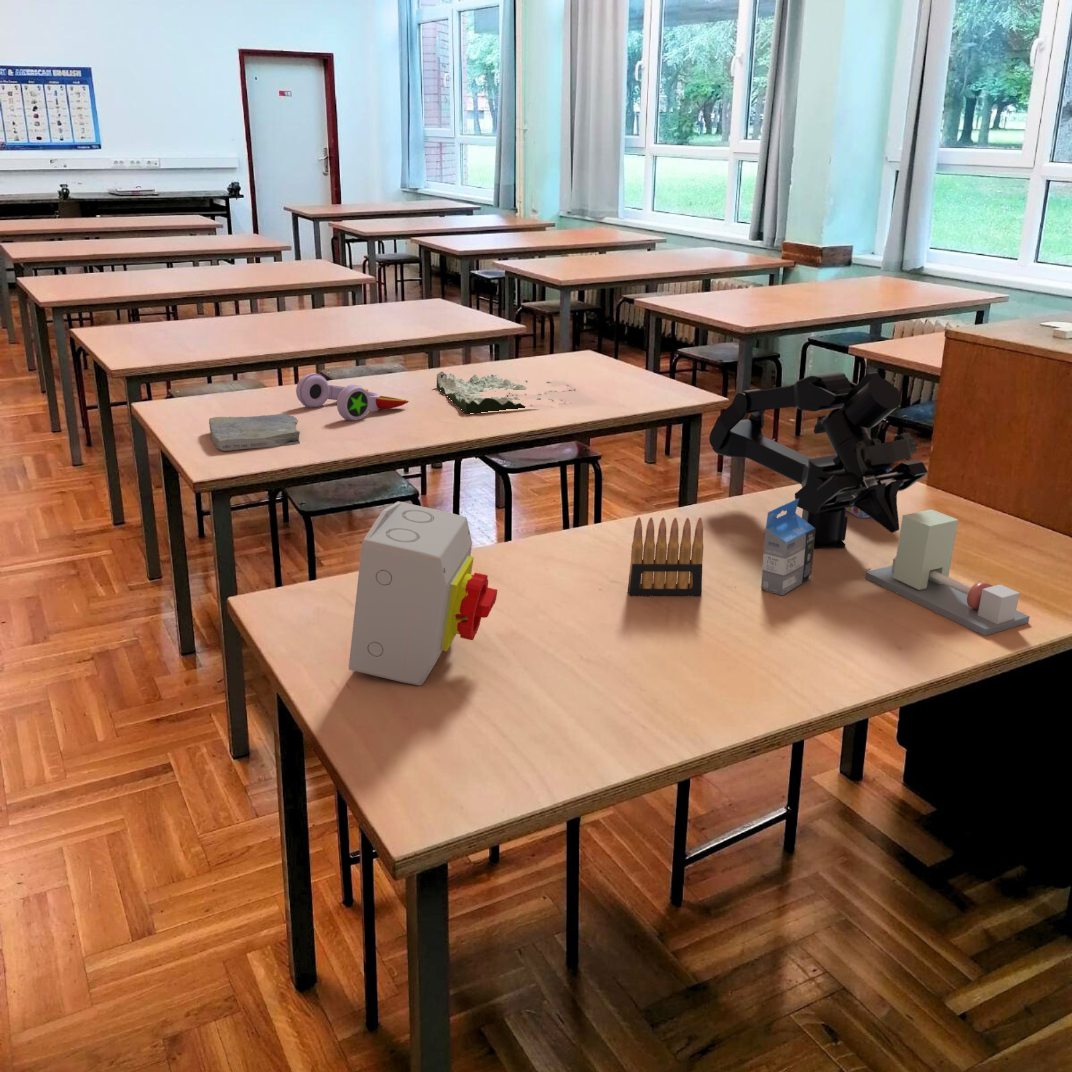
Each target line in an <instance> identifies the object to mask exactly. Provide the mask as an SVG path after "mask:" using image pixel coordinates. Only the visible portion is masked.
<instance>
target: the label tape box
mask: <svg viewBox="0 0 1072 1072" xmlns="http://www.w3.org/2000/svg"><path fill="white" fill-rule="evenodd" d="M798 501H799V499H796V500H795V499H794V500H791V501H789V502H787V503H785V504H782V505H780V506H778V507H776V508H774V509H771V510H770V511H768V512H767V514H766V515H767V517H766V523H765V528H764V529H765V532H764V542H763V543H764V544H763V557H762V570H761V582H760V583H761V585H760V588H761V590H764V591H767V592H769V593H772V594H776V595H781V596H784V595H785V594H788V593H789V592H791V590H794V589H795V588H797V587H798V586H800V585H802V584H803V583H805V582H807V581H809V580H810V579H811V578H812V573H813V571H812V570H813V559H814V549H815V548H814V540H815V528H814V527H813V526H812V525H810V524H809V523H808V522H806V521H805V520H804V519H803V518H802V516H800V515H798V514H797V508H798V507H797V504H798ZM782 512H786V513H785V514H782ZM779 514H782V515H781V516H778V515H779Z"/></svg>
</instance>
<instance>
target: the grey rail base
mask: <svg viewBox="0 0 1072 1072" xmlns="http://www.w3.org/2000/svg"><path fill="white" fill-rule="evenodd" d="M895 561H896V556H895V557H894V558H893V559H892V563H891V565H888V566H884V567H880V568H876V569H872V570H867V571H865V574H864V578H865V579H867V580H869V581H871V582H873V583H875V584H877V585H879V586H881V587H883V588H886V589H887V590H889V589H890V590H889V591H891V592H893V591H894V593H896V594H897V593H898V595H899V596H902V597H904V598H906V599H908V600H910V601H912V602H913V603H916V604H918V605H921V606H922V607H925V608H927V609H928V610H931V611H933V612H935V613H936V614H939V615H941V616H943V617H945V618H946V619H948V620H951V621H953V622H954V623H957V624H959V625H961V626H964V627H965V628H967V629H970V630H971V631H974V632H976V633H978V634H980V635H982V636H984V637H986V636H989V635H992V634H996V633H999V632H1003V631H1006V630H1010V629H1012V628H1016V627H1018V626H1023V625H1026V624H1029V622H1030V618H1031V617H1030V616H1029V615H1027V614H1025V613H1023V612H1020V611H1018V610H1017V609H1018V603H1019V598H1020V596H1021V595H1020V594H1021V592H1019V591H1016V590H1015V589H1012V588H1009V587H1007V586H1005V585H1003V584H996V585H991V584H990V583H988V582H985V581H978V582H976V583H974V584H973V585H972V586H969V585H967V584H964V583H962V582H961V581H959V580H956V579H953V578H951V577H949V576H948V577H947V576H945V575H943V574H940V573H938V572H936V571H934V570H930V571H929V578H932V579H934V580H936V581H938V582H940V583H943V584H938V583H936V582H934V581H931V580H929V579H928V583H927V588H924V589H920V590H918V589H916V588H914V587H912V586H910V585H908V584H905V583H903V582H901V581H899V580H897V579H895V578H893V574H894V568H895Z"/></svg>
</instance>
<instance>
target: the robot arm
mask: <svg viewBox="0 0 1072 1072" xmlns="http://www.w3.org/2000/svg"><path fill="white" fill-rule="evenodd" d="M901 402H902V396H901V394H900V391H899V389H898V388H897V387H895V386H894V384H892V383H891V382H890V381H889V380H887V379H885V378H882V377H881V376H880V374H879V372H878V371H874V372H868V373H866V374H865V375H864V376H863V377H862V378H861V381H860V380H859V382H858V383H855V382H853V381H850V380H849V378H848V377H847V376H846V374H845V373H843V372H838V371H837V372H830V373H822V374H814V375H812V374H811V375H809V376H806V377H804V378H802V379H799V380H796V382H795V383H792V384H790V385H786V386H779V387H778V386H777V387H771V388H764V389H760V388H757V389H756V388H755V389H748V390H742V391H739V392H738V393H736V395H735V396H734V398H733V400H732V402H731V404H730V405H729V406H728V407H727V408H726V409H724V411H723V412H722V413H721V414H720V415H719V416H718V417H717V419H716V421H715V423H714V425H713V427H712V428H711V431H710V433H709V436H708V438H709V444H710V446H711V447H712V451H713V452H714V453H716V454H717V455H718V456H719V455H720V456H725V457H729V458H741V459H742V458H743V459H748V460H750V461H752V462H754V463H757V464H759V465H760V466H763V467H765V468H767V469H769V470H771V471H772V472H775V473H777V474H779V475H781V476H783V477H785V478H787V479H789V480H792V481H794V482H795V483H797V484H800V485H801V489H799V490H798V491H796V492H795V493H794V500H796V499H799V501H798V504H797V508H800V509H801V510H802V512H801V513H802V514H801V518H803V519H804V520H805V521H806V522H808V523H809V524H810V525H812V526H813V527H814V528H815V540H814V549H833V548H835V549H838V548H839V549H840V548H841V549H843V548H844V549H845V548H846V543H845V542H844V541H845V540H846V536H847V528H848V527H847V526H848V521H849V517H848V516H846V512H847V510H846V509H845V508H847V507H853V506H855V507H857V508H858V509H860V510H861V511H863V512H864V513H866V514H867V515H869V516H870V517H869V518H872V519H873V520H874V521H876V523H878V524H879V525H881V526H882V527H883V528H884V529H886V530H887V531H889V532H890V533H892V534H893V533H896V532H898V531H900V522H899V521H900V519H899V513H898V512H899V511H898V499H897V498H898V492H902V491H904V490H906V489H908V488H910V487H912V485H914V484H915V483H917V482H919V481H920V480H922V478H923V477H925V476H926V475H928V474H929V471H928V469H927V467H926V466H925V463H924V461H920V460H917V459H913V457H912V456H913V455H912V454H914V453H916V451H917V443H916V441H915V439H914V438H913V436H912V435H911V433H910V432H907V433H901V434H898V435H895V436H894V437H893V441H887V442H883V443H882V441H881V439H879V438H877V437H875V438H871V435H870V434H869V431H868V430H867V429H872V428H874V427H875V426H877V425H879V424H880V423H881V422H882V421H883V420H884V419H885V418H887V417H888V416H889V415H890V414H891V413H892V412H894V411H895V410H896V409H898V408H899V407H900V405H901ZM785 408H796V409H799V410H800V411H809V412H820V411H827V410H828V411H829V410H831V411H830V412H828V414H826V415H821V416H817V418H816V419H817V421H816V423H815V425H814V428H813V434H815V435H816V434H817V435H818V434H823V433H825V434H826V436H827V438H828V440H829V441H830V444H831V446H832V448H833V450H834V452H835V454H831V455H825V456H819V457H814V458H813V457H810V456H809V455H806V454H804V453H801V452H799V451H797V450H795V449H793V448H791V447H788V446H786V445H784V444H782V443H780V442H777V441H774V440H773V439H771V438H768V437H766V436H765V435H764V433H763V429H764V426H765V419H764V418H765V415H764V413H765V411H767V410H775V409H777V410H778V409H785ZM746 414H750V416H749V417H748V419H743V418H744V417H745V415H746ZM912 459H913V460H912ZM905 460H906V461H905ZM899 461H901V462H900V463H899V464H898V465H896V463H897V462H899ZM902 461H903V462H902ZM894 466H895V467H894ZM893 467H894V468H893ZM890 468H893V469H891V470H890V472H888V473H887V471H886V470H887V469H890ZM876 480H878V481H876Z"/></svg>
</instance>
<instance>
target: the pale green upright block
mask: <svg viewBox="0 0 1072 1072" xmlns="http://www.w3.org/2000/svg"><path fill="white" fill-rule="evenodd" d="M958 525H959V519H957V518H955V517H953V516H950V515H947V514H945V513H942V512H939V511H936V510H934V509H926V510H921V511H917V512H913V513H912V512H911V513H908V514H902V517H901V524H900V529H899V531H900V532H899V537H898V544H897V550H896V556H895V557H896V561H895V568H894V574H893V578H895V579H897V580H899V581H901V582H903V583H905V584H908V585H910V586H912V587H914V588H916V589H918V590H920V589H924V588H927V583H928V579H929V580H931V581H934V582H936V583H938V584H943V583H940V582H938V581H936V580H934V579H932V578H929V571H930V570H934V571H936V572H938V573H940V574H943V575H945V576H947V577H949V575H950V570H951V564H952V559H953V554H954V548H955V542H956V536H957V530H958Z"/></svg>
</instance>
